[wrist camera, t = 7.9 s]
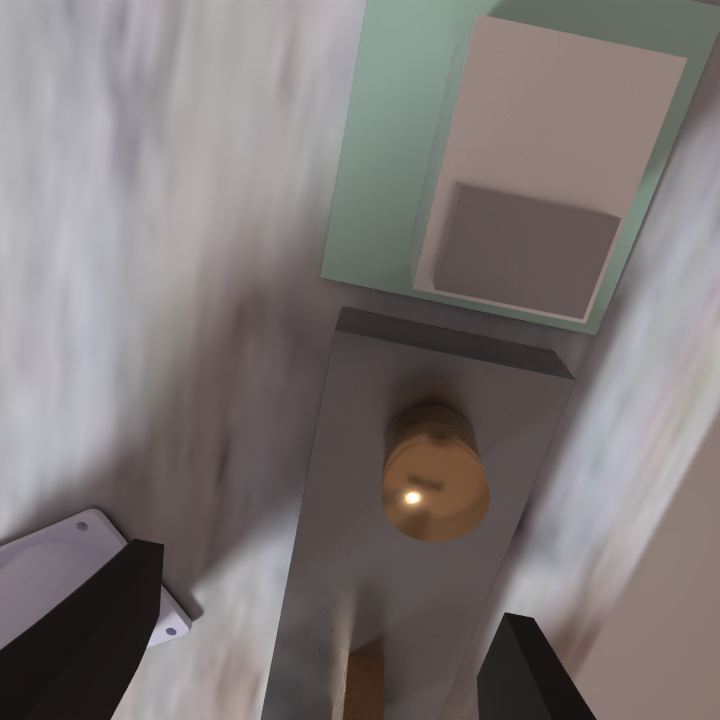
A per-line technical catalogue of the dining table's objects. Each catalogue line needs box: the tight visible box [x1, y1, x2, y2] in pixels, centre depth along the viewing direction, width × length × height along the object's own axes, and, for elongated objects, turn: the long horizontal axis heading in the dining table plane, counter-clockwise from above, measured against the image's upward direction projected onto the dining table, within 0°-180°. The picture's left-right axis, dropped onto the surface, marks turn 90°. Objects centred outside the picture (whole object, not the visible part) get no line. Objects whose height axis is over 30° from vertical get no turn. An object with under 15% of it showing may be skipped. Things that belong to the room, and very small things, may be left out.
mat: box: [320, 0, 720, 336], centre depth 17 cm, size 10×10×1 cm
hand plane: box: [261, 307, 576, 720], centre depth 20 cm, size 20×8×6 cm, turn 169°
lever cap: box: [408, 14, 688, 324], centre depth 14 cm, size 6×4×6 cm
